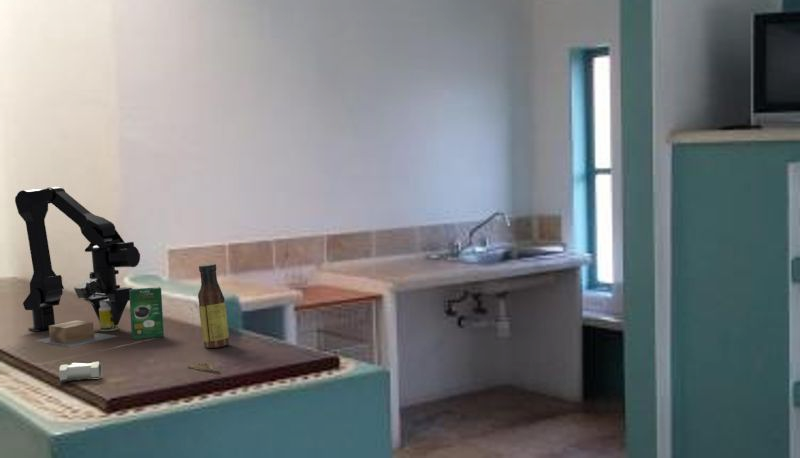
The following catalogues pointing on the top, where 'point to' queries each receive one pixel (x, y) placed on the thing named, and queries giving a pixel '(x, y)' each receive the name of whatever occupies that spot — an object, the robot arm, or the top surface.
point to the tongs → (204, 368)
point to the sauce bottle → (212, 309)
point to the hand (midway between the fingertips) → (109, 323)
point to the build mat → (96, 338)
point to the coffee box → (146, 313)
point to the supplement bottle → (106, 317)
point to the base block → (71, 331)
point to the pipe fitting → (80, 371)
